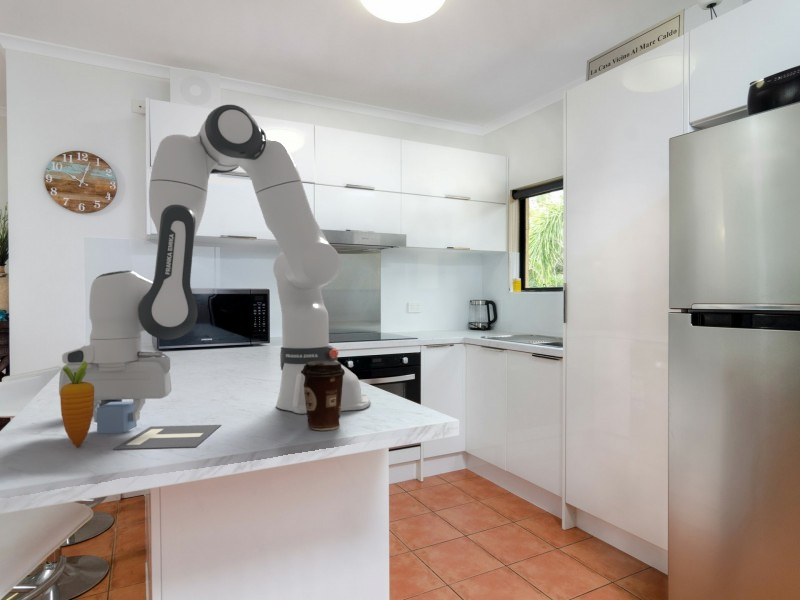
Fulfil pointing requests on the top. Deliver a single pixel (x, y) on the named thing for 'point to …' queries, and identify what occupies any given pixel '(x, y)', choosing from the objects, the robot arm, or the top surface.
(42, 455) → the top surface
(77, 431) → the carrot
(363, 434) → the top surface
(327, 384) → the coffee cup
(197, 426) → the letter mat
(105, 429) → the slate cube
